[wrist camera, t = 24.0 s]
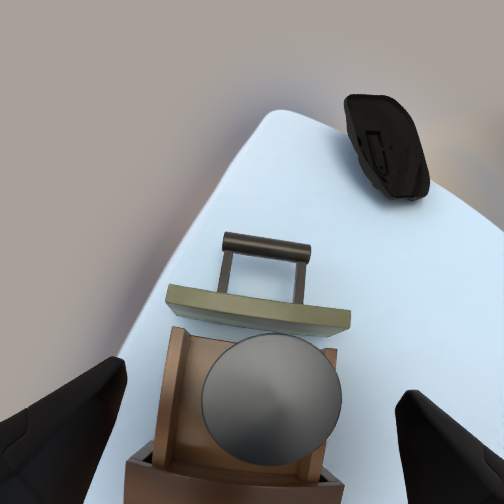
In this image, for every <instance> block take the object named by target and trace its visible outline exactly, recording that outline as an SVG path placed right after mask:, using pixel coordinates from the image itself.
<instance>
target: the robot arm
mask: <svg viewBox="0 0 504 504" xmlns="http://www.w3.org/2000/svg"><path fill="white" fill-rule="evenodd" d="M126 385H127V372H126V366H125V361H124V360H123V359H121V358H117V357H114V356H112V357H109V358H108V359H106V360H104V361H103V362H101V363H99V364H98V365H96V366H95V367H93V368H91V369H90V370H88V371H87V372H85V373H83V374H82V375H80V376H78V377H77V378H75V379H74V380H72V381H70V382H68V383H67V384H65V385H64V386H62V387H60V388H59V389H57V390H55V391H54V392H52V393H51V394H49V395H47V396H46V397H44V398H42V399H40V400H39V401H38V402H36V403H34V404H32V405H30V406H29V407H28V408H25V409H24V410H22V411H20V412H19V413H17V414H15V415H13V416H12V417H10V418H8V419H6V420H4V421H2V422H0V504H83V503H84V500H85V497H86V495H87V492H88V489H89V487H90V484H91V481H92V479H93V476H94V474H95V471H96V469H97V466H98V464H99V461H100V459H101V456H102V454H103V451H104V449H105V447H106V444H107V442H108V439H109V437H110V435H111V432H112V430H113V427H114V425H115V422H116V419H117V415H118V412H119V409H120V405H121V402H122V398H123V395H124V392H125V389H126ZM395 417H396V426H397V436H398V445H399V452H400V458H401V463H402V468H403V474H404V480H405V486H406V492H407V499H408V504H504V460H503V459H502V458H501V457H499V456H498V455H497V454H495V453H494V452H493V451H491V450H490V449H489V448H488V447H487V446H485V445H483V443H482V442H480V441H479V440H478V439H477V438H476V437H474V436H473V435H472V434H471V433H470V432H468V431H467V430H466V429H465V428H464V427H462V426H461V425H460V424H459V423H457V422H456V421H455V420H454V419H453V418H451V417H450V416H449V415H448V414H447V413H445V412H444V411H443V410H442V409H440V408H439V407H438V406H437V405H436V404H434V403H433V402H432V401H431V400H430V399H428V398H427V397H426V396H425V395H424V394H422V393H421V392H420V391H419V390H407V391H406V392H405V393H404V394H403V396H402V397H401V399H400V401H399V402H398V404H397V405H396V408H395Z"/></svg>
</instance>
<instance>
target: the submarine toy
mask: <svg viewBox="0 0 504 504" xmlns="http://www.w3.org/2000/svg"><path fill="white" fill-rule="evenodd" d="M344 110H345V114H346V121H347V133H348V136H349V138H350V140H351V142H352V144H353V147H354V149H355V151H356V152H357V154H358V156H359V163H360V166H361V168H362V170H363V172H364V173H365V175H366V176H367V177H368V178H369V180H370V181H371V182H372V183H373V186H374V187H375V188H377V189H380V191H381V192H382V193H383V194H384V196H385V197H386V198H388V199H400V198H410V201H414V200H417V199H420V198H423V197H425V196H426V195H427V194H428V191H429V187H430V177H429V171H428V168H427V164H426V160H425V157H424V153H423V149H422V146H421V143H420V140H419V136H418V133H417V130H416V127H415V124H414V122H413V120H412V118H411V117H410V115H409V114H408V112H407V111H406V110H405V109H404V108H403V107H402V106H401V105H400V104H399V103H398V102H397V101H396V100H395V99H393V98H391V97H389V96H385V95H367V94H351V95H349V96H348V97H346V98H345V100H344Z"/></svg>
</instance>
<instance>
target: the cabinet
mask: <svg viewBox="0 0 504 504" xmlns="http://www.w3.org/2000/svg"><path fill="white" fill-rule="evenodd" d="M153 448H154V441H152V440H151V441H150V442H149V443H147V444H146V445H145V446H144V447H143V448H141V449H140V450H139V451H138V452H136V453H135V454H134V455H133V456H131V457H130V458H129V459H128V460H127V461H126V466H125V481H124V501H123V504H341V500H342V495H343V491H344V487H345V485H344V484H343V483H342V482H340V480H338V479H337V478H336V477H335V476H334V475H332V474H331V473H330V472H329V471H328V470H327V469H325V468H324V467H323V466H322V469H321V474H320V479H319V483H274V482H256V481H244V480H235V479H226V478H219V477H212V476H205V475H199V474H194V473H188V472H183V471H179V470H174V469H169V468H165V467H161V466H157V465H153V464H152V457H153Z"/></svg>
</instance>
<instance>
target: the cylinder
mask: <svg viewBox="0 0 504 504" xmlns="http://www.w3.org/2000/svg"><path fill="white" fill-rule="evenodd" d="M341 403H342V391H341V385H340V381H339V378H338V375H337V373H336V370H335V368H334V367H333V365H332V363H331V362H330V360H329V359H328V358H327V357H326V356H325V354H324V353H322V352H321V351H320V350H319V349H318V348H317V347H315V346H314V345H312V344H311V343H309V342H307V341H305V340H303V339H301V338H298V337H295V336H291V335H287V334H279V333H268V334H260V335H256V336H252V337H249V338H246V339H244V340H241V341H240V342H238V343H236V344H234V345H233V346H231V347H230V348H229V349H227V350H226V351H225V352H224V353H223V354H222V355H221V356H219V358H218V359H217V360H216V361H215V362H214V364H213V365H212V367H211V368H210V370H209V372H208V374H207V376H206V379H205V381H204V385H203V388H202V395H201V409H202V416H203V419H204V422H205V425H206V427H207V429H208V431H209V433H210V435H211V436H212V438H213V439H214V441H215V442H216V443H217V444H218V445H219V446H220V447H221V448H222V449H223V450H224V451H226V452H227V453H228V454H230V455H231V456H233V457H235V458H237V459H239V460H241V461H243V462H246V463H249V464H253V465H259V466H280V465H285V464H290V463H293V462H296V461H298V460H300V459H302V458H305V457H306V456H308V455H310V454H311V453H313V452H314V451H315V450H316V449H318V448H319V447H320V446H321V445H322V444H323V443H324V442H325V441H326V440H327V438H328V437H329V436H330V434H331V433H332V431H333V429H334V427H335V426H336V423H337V421H338V418H339V414H340V410H341Z"/></svg>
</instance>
